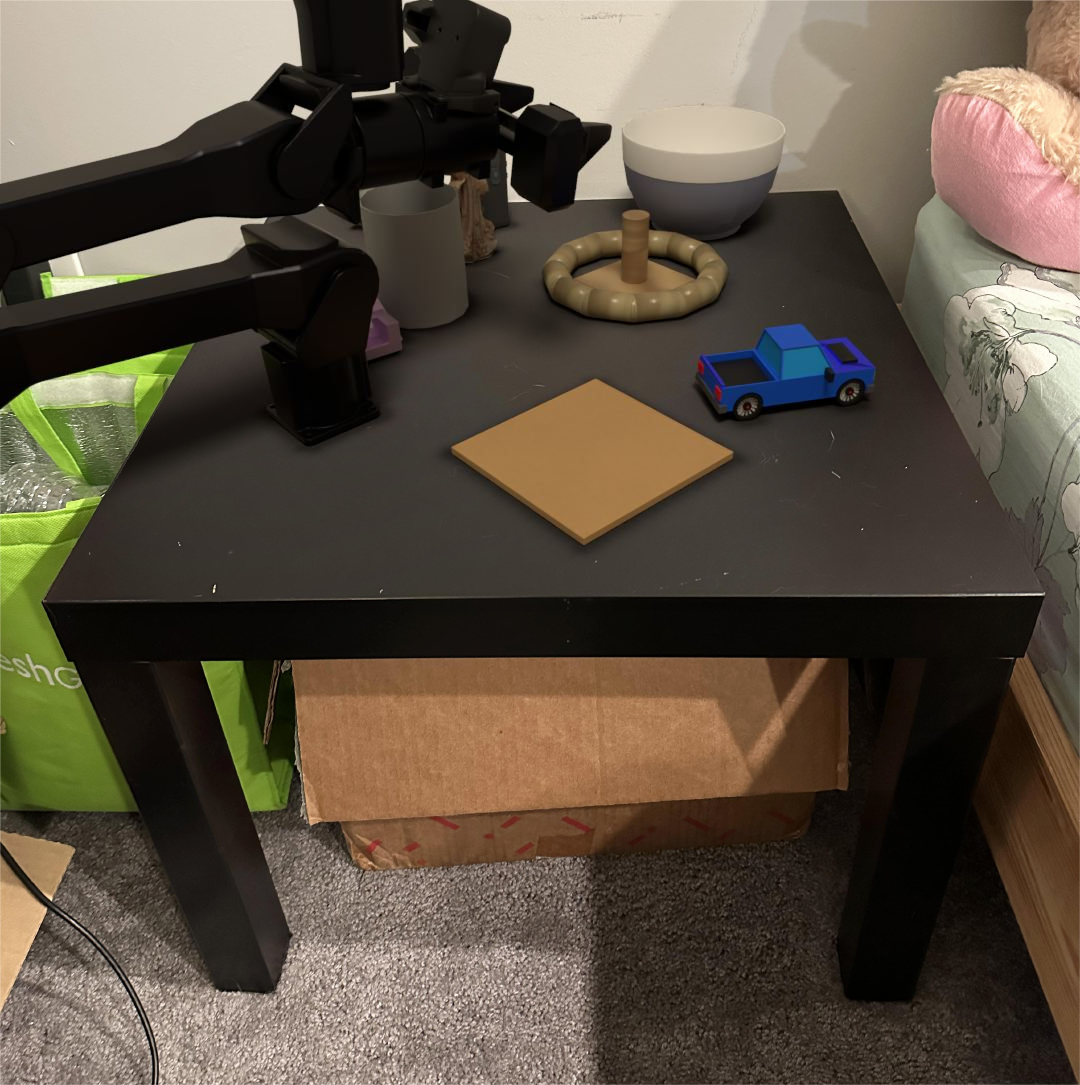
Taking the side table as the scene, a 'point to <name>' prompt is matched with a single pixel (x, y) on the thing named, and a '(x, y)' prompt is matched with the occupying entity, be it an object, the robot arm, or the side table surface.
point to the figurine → (473, 217)
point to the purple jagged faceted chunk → (382, 333)
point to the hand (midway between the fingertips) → (570, 112)
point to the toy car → (785, 372)
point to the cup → (416, 252)
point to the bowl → (701, 166)
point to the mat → (591, 458)
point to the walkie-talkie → (497, 193)
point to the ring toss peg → (634, 263)
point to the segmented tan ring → (640, 303)
